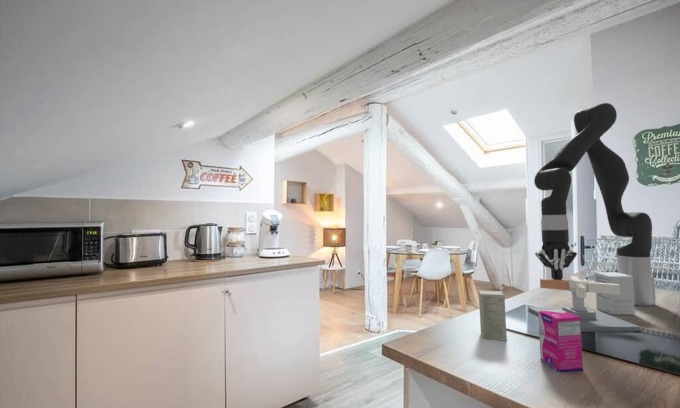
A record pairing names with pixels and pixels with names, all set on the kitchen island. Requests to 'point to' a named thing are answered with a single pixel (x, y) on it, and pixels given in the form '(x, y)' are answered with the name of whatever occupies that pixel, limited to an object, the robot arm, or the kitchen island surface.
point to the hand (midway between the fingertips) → (557, 280)
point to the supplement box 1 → (560, 340)
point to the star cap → (580, 286)
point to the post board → (597, 322)
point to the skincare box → (492, 315)
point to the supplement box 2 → (614, 301)
